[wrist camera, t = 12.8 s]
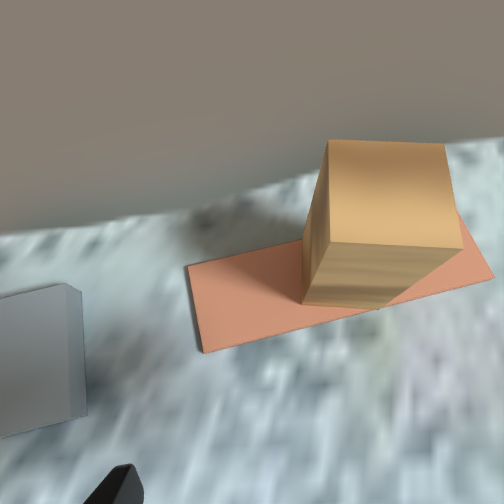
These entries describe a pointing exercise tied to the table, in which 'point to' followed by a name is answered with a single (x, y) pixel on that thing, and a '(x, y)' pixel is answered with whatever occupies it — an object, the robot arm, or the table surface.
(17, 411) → the slate ledge
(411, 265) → the oak block
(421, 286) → the terracotta mat
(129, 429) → the table surface
